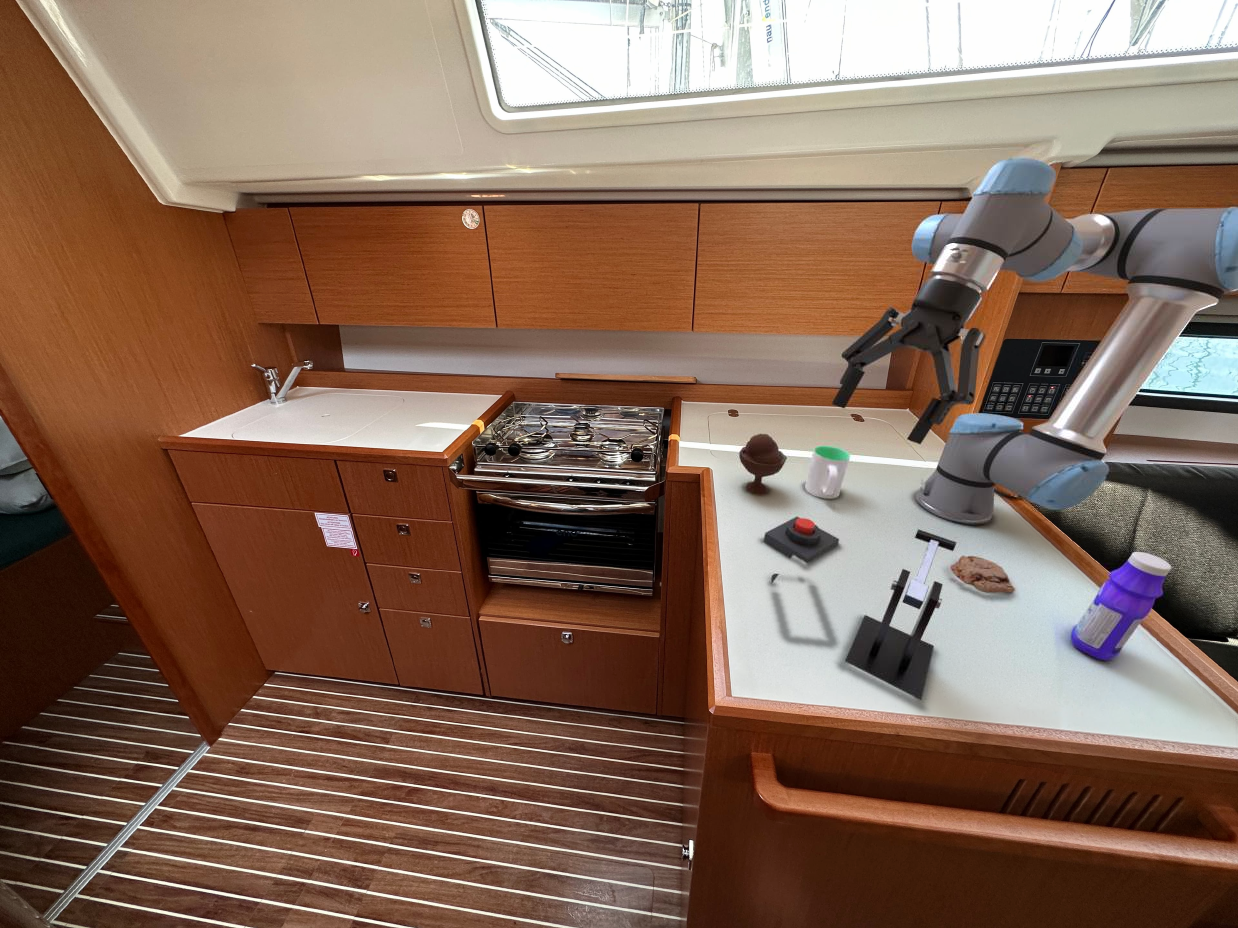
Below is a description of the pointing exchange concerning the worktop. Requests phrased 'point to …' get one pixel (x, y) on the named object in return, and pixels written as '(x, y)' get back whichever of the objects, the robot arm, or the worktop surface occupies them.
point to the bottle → (1120, 606)
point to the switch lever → (925, 568)
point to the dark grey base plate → (799, 541)
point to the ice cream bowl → (761, 460)
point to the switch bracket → (896, 644)
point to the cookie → (982, 574)
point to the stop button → (804, 526)
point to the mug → (827, 471)
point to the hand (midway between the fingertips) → (872, 423)
